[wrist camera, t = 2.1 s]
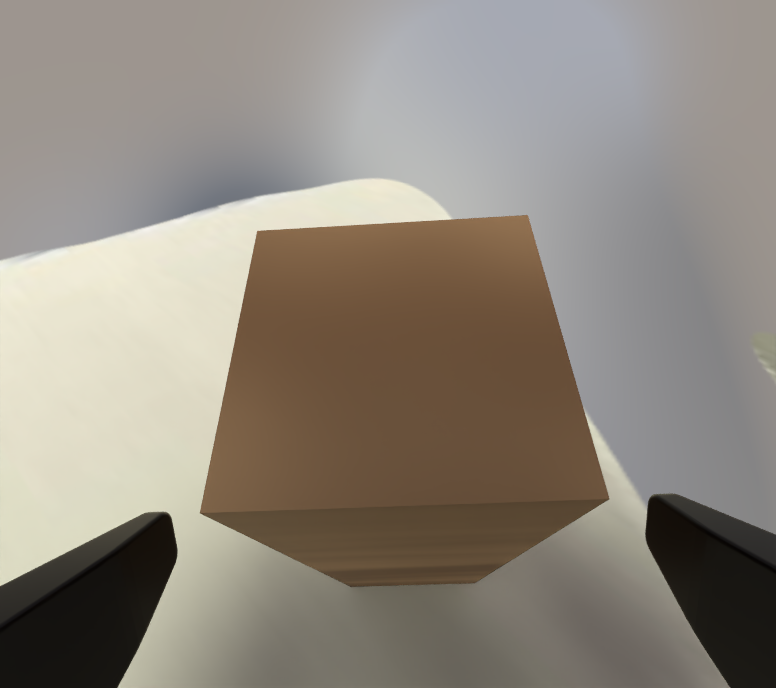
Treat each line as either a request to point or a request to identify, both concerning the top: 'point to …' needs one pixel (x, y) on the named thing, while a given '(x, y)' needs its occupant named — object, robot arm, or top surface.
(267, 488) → the walnut block
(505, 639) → the top surface
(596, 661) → the top surface
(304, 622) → the top surface
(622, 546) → the top surface
